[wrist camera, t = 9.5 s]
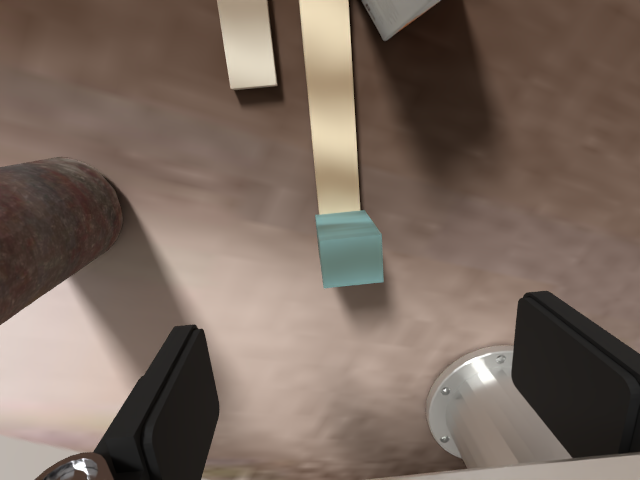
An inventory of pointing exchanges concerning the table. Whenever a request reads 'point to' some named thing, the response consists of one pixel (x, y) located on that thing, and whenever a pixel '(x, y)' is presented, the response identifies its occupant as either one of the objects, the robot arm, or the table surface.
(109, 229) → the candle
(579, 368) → the robot arm
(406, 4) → the skincare box
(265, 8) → the broken strip
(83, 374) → the table surface
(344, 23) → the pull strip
